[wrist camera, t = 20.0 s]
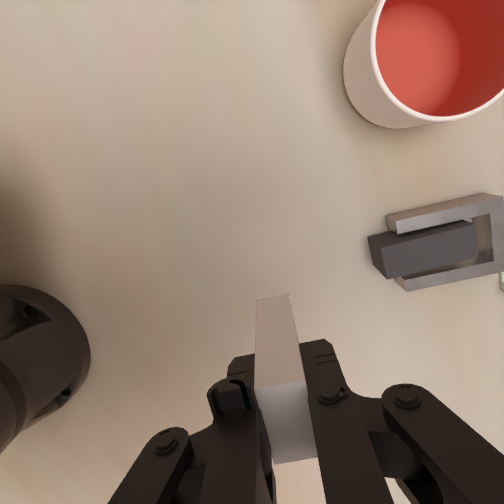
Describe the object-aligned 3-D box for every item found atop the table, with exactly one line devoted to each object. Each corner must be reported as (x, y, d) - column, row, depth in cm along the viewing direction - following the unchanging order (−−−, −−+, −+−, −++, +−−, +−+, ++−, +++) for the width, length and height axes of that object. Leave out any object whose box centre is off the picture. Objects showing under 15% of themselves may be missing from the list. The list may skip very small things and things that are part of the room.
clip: (395, 281, 38) (406, 291, 35) (385, 215, 36) (395, 221, 33) (489, 261, 37) (508, 270, 34) (483, 192, 35) (503, 196, 32)
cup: (480, 69, 32) (571, 34, 23) (389, 153, 34) (437, 154, 25) (406, -24, 31) (470, -104, 21) (316, 70, 33) (337, 37, 23)
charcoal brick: (372, 264, 37) (386, 279, 33) (367, 236, 37) (380, 248, 32) (453, 244, 36) (479, 256, 32) (449, 215, 36) (474, 224, 31)
